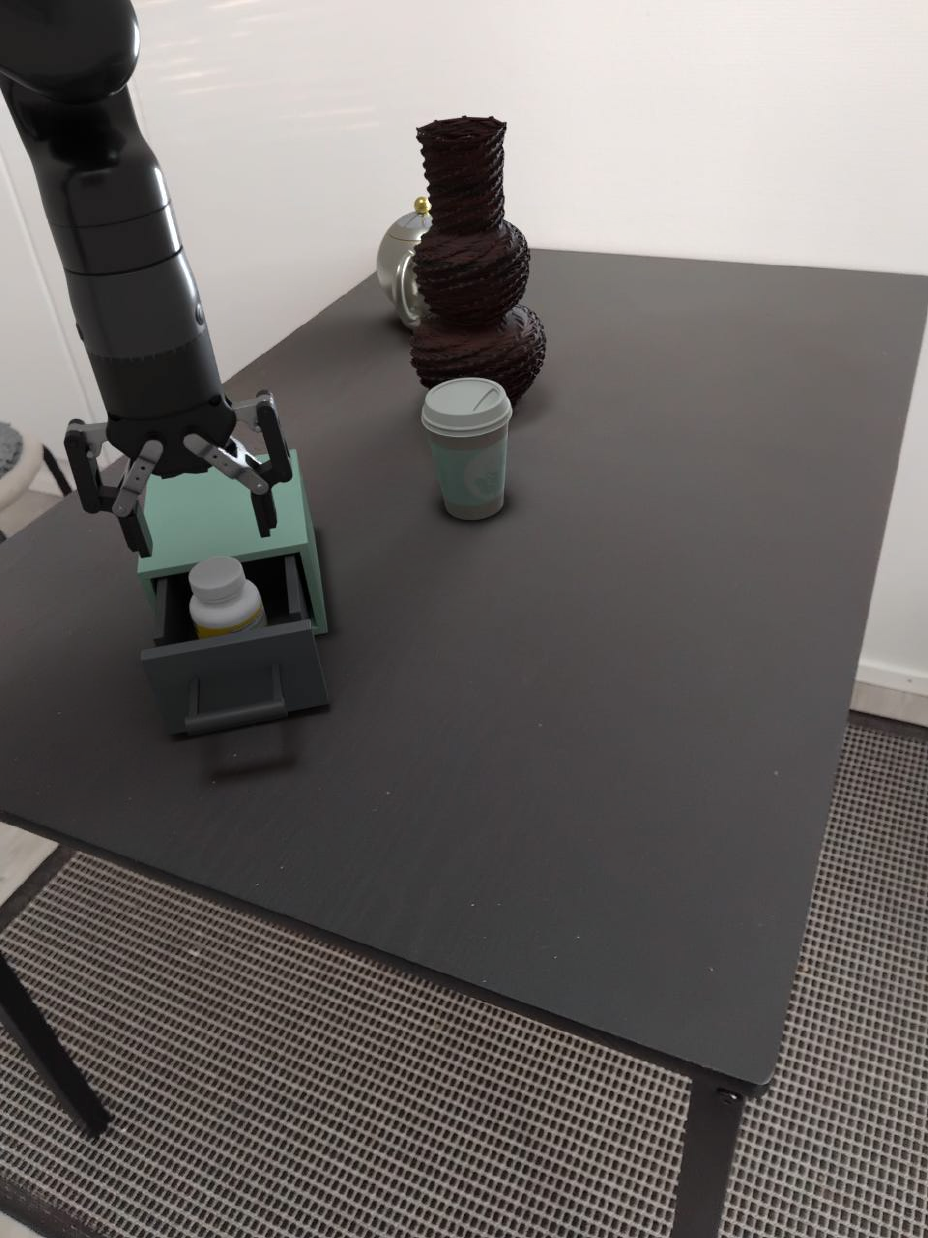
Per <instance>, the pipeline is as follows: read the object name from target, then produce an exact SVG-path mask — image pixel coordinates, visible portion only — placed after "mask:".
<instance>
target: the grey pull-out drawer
mask: <svg viewBox="0 0 928 1238" xmlns="http://www.w3.org/2000/svg"><path fill="white" fill-rule="evenodd" d="M241 565H242V568H243V572H244V575H245V579H247V580H249V581H250V582H252V583H253V584H254V585H255V586H256V587H257V589H258V591H259V594H260V597H261V600H262V604H263V608H264V611H265V615H266V618H267V622H268V625H269V627H264V628H258V629H253V630H247V631H242V632H237V633H231V634H226V635H220V636H215V637H210V638H204V639H199V637H198V634H197V631H196V628H195V626H194V623H193V620H192V617H191V613H190V608H189V606H190V601H191V598H192V596H193V595H194V593H193V592H192V588H191V585H190V582H189V574H190V572H185V573H179V574H173V575H168V576H162V577H158V582H157V594H156V607H155V619H154V618H153V620H154V621H153V633H152V641H153V643H154V645H155V647H150V648H145V649H141V650H140V660H139V661H140V664H141V665H142V668H143V671H144V673H145V675H146V678H147V680H148V683H149V685H150V689H151V691H152V693H153V696H154V699H155V701H156V704H157V706H158V708H159V711H160V714H161V716H162V719H163V721H164V723H165V726H166V728H167V731H168V734H169V735H175V734H180V733H186V734H187V736H189V737H191V736H196V735H202V734H206V733H212V732H218V731H222V730H226V729H232V728H237V727H244V726H248V725H253V724H258V723H263V722H268V721H274V720H278V719H284V718H287V717H288V712H293V711H299V710H304V709H305V710H306V709H310V708H315V707H319V706H326V705H329V703H330V700H329V694H328V693H329V692H328V689H327V685H326V680H325V675H324V672H323V667H322V662H321V658H320V655H319V651H318V647H317V646H318V645H317V642H316V638H315V635H314V633H313V629H312V625H311V621H310V616H309V607H308V598H307V591H306V587H305V582H304V578H303V574H302V570H301V565H300V561H299V557H298V552H297V553H291V554H286V555H280V556H274V557H269V558H263V559H257V560H252V561H246V562H241Z"/></svg>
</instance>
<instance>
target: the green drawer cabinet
mask: <svg viewBox="0 0 928 1238" xmlns="http://www.w3.org/2000/svg"><path fill="white" fill-rule="evenodd" d="M289 453H290V456H291V465H292V474H293V476H292V479H291V480H290V481H289V482H286V483H281V482H279V483H277V484H276V485H274V486H273V487H272V489H271V490H272V494H273V498H274V503H275V507H276V511H277V526H276V528H274V529H270V534H271V537H265V538H261V537H260V533H259V529H258V525H257V521H256V517H255V513H254V509H253V505H252V501H251V493H250V490H249V489H248V488H247V487H245V486H244V485H243V484H241V483H240V482H239V481H237V480H236V479H234V480H232V479H230V478H229V477H227V476H226V475H225V474H223V473H222V472H221V471H219V470H218V469H217V468H215V467H214V466H213V467H211V468H209V469H208V472H206V473H200V474H189V473H183V474H181V475H179V476H176V477H174V478H168V479H162V478H161V476H156V475H153V474H151V475H150V477H149V479H148V481H147V483H146V486H145V488H146V489H145V498H144V505H143V506H144V507H143V513H144V516H145V519H146V522H147V525H148V528H149V531H150V534H151V537H152V541H153V550H152V557H147V558H141V557H140V554H139V553H138V559H137V560H138V561H137V568H136V569H137V570H136V573H137V577H138V579H139V582H140V585H141V587H142V590H143V593H144V596H145V598H146V601H147V604H148V607H149V609H150V612H151V615H152V618H153V620H154V619H155V607H156V594H157V582H158V577H162V576H168V575H173V574H179V573H185V572H190V571H191V570H192V569H193V567H194V566H196V565H197V564H198V563H200V562H201V561H203V560H206V559H208V558H212V557H217V556H228V557H232V558H235V559H236V560H238V561H239V562H240V563H241V562H246V561H252V560H257V559H263V558H269V557H274V556H280V555H286V554H291V553H297V552H298V557H299V561H300V565H301V570H302V574H303V578H304V582H305V587H306V591H307V598H308V607H309V616H310V621H311V625H312V629H313V633H314V636H317V635H318V636H319V635H322V634H327V633H328V632H329V630H328V629H329V628H328V623H327V615H326V607H325V600H324V592H323V586H322V578H321V577H322V576H321V571H320V564H319V557H318V548H317V541H316V533H315V528H314V524H313V520H312V515H311V511H310V506H309V501H308V497H307V492H306V488H305V483H304V479H303V473H302V469H301V464H300V459H299V456H298V452H297V449H296V448H294V449H289ZM253 456H254V457H255V458H256V459H258V460H259V461H260V462H262V463H264V462H266V461H268V460H270V458H269V454H268V453H264V454H263V453H262V454H257V455H253Z"/></svg>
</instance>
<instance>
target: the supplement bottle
mask: <svg viewBox="0 0 928 1238" xmlns="http://www.w3.org/2000/svg"><path fill="white" fill-rule="evenodd" d="M189 582H190V585H191V588H192V592H193V593H194V595H193V596H192V598H191V601H190V606H189V608H190V613H191V617H192V620H193V623H194V626H195V628H196V631H197V634H198V637H199V639H204V638H210V637H215V636H220V635H226V634H231V633H237V632H242V631H247V630H253V629H258V628H264V627H269V625H268V622H267V618H266V615H265V611H264V608H263V604H262V600H261V597H260V594H259V591H258V589H257V587H256V586H255V585H254V584H253V583H252V582H250V581H249V580H247V579H245V575H244V572H243V568H242V565H241V563H240V562H239V561H238V560H236V559H235V558H232V557H228V556H217V557H212V558H208V559H206V560H203V561H201V562H200V563H198V564H197V565H196V566H194V567H193V569H192V570H191V571H190V574H189Z"/></svg>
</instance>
